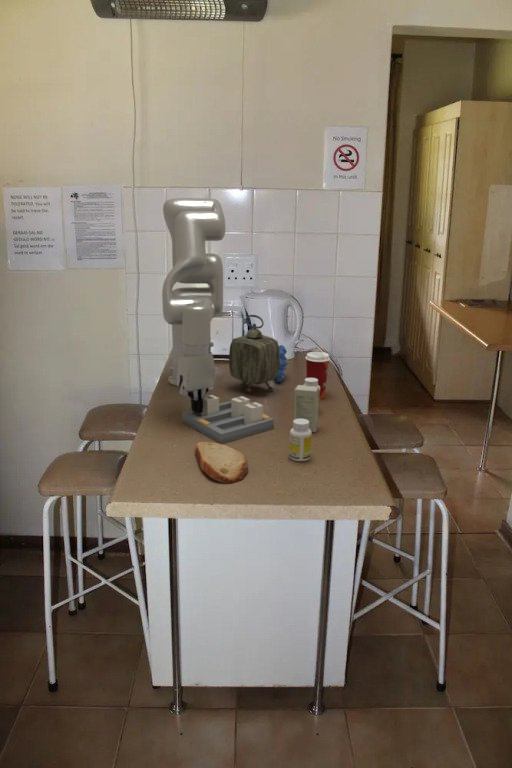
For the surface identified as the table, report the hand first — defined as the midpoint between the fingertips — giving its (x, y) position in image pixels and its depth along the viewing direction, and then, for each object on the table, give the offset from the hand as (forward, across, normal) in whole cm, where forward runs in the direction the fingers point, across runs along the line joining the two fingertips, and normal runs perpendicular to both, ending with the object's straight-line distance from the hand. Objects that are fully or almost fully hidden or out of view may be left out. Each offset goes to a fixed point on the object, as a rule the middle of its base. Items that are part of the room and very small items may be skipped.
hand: (197, 411), depth 186 cm
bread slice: (+4, +11, +25) cm, 28 cm away
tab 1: (+2, -11, +6) cm, 12 cm away
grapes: (+4, -44, -17) cm, 47 cm away
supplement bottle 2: (+4, -32, +12) cm, 35 cm away
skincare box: (+4, -22, +21) cm, 31 cm away
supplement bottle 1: (+4, -8, +34) cm, 35 cm away
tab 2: (+2, -11, +12) cm, 16 cm away
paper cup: (+4, -43, +3) cm, 43 cm away
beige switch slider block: (+2, -4, 0) cm, 5 cm away
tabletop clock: (+4, -30, -13) cm, 33 cm away
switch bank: (+4, -6, +6) cm, 9 cm away
